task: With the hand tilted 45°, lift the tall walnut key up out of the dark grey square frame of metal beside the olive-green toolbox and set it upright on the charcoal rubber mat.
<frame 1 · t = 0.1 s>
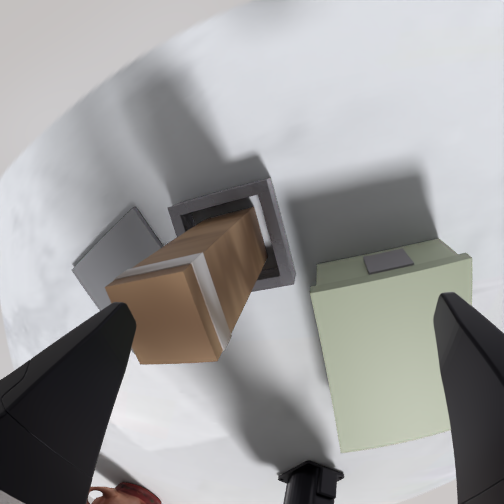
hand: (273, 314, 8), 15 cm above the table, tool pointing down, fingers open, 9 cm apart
terracotta mug: (135, 488, 46), on the table
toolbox: (389, 338, 24), on the table
mat: (133, 287, 28), on the table
key: (208, 267, 18), in the dark grey square frame
dark grey square frame: (236, 237, 24), on the table
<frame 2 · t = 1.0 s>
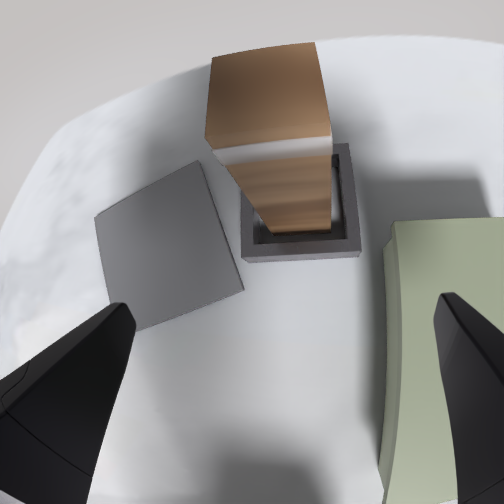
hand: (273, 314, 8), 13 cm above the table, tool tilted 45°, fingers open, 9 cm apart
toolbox: (452, 359, 17), on the table
mat: (158, 249, 24), on the table
key: (289, 165, 16), in the dark grey square frame
dark grey square frame: (300, 207, 22), on the table
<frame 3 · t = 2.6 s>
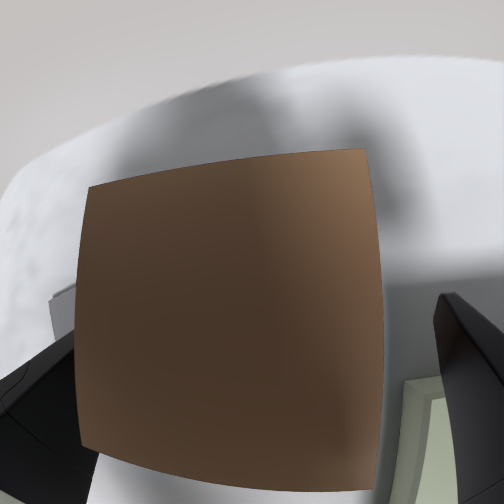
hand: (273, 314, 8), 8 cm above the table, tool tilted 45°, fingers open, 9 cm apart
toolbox: (463, 487, 11), on the table
mat: (119, 356, 18), on the table
key: (281, 324, 10), in the dark grey square frame
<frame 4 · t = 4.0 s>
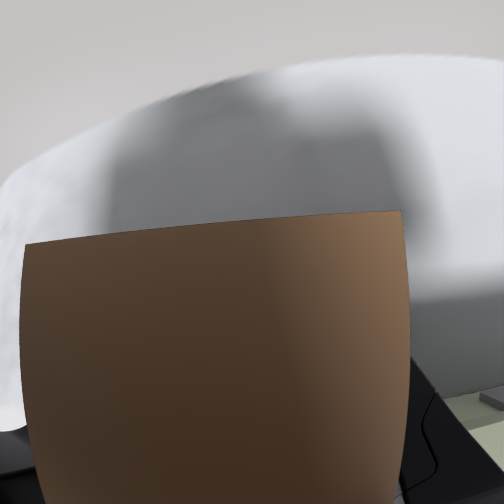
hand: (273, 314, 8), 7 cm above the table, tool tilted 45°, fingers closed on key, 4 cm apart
key: (276, 363, 8), in the dark grey square frame, touching gripper
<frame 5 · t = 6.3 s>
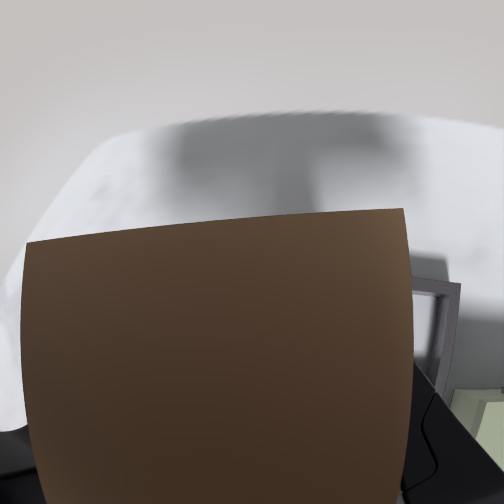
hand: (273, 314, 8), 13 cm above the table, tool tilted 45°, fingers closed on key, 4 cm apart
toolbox: (474, 479, 14), on the table
key: (277, 363, 8), point 12 cm above the table, touching gripper
dark grey square frame: (394, 336, 19), on the table
when the fingers open (9 cm above the table, at t = 8.4 s): key drops 1 cm, resting on mat.
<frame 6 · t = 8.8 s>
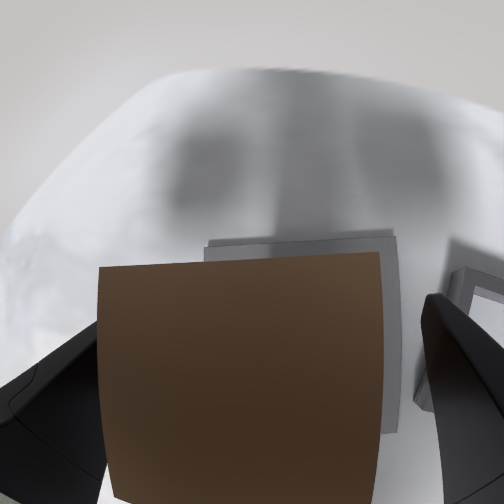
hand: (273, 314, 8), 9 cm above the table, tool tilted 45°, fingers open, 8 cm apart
mat: (301, 342, 16), on the table
key: (286, 357, 10), on the mat
dark grey square frame: (486, 351, 13), on the table
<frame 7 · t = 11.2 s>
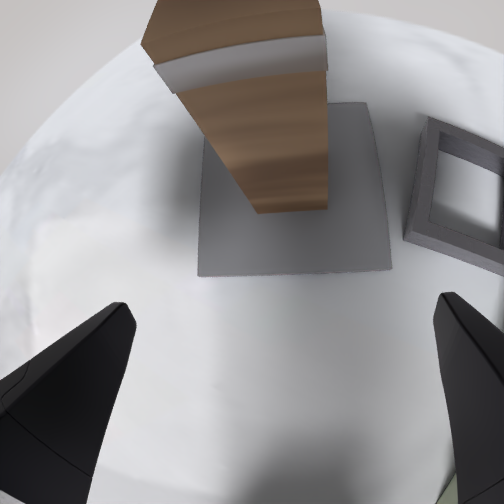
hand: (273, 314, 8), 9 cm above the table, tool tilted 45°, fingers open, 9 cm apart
mat: (290, 183, 18), on the table
key: (272, 115, 12), on the mat
dark grey square frame: (466, 201, 16), on the table
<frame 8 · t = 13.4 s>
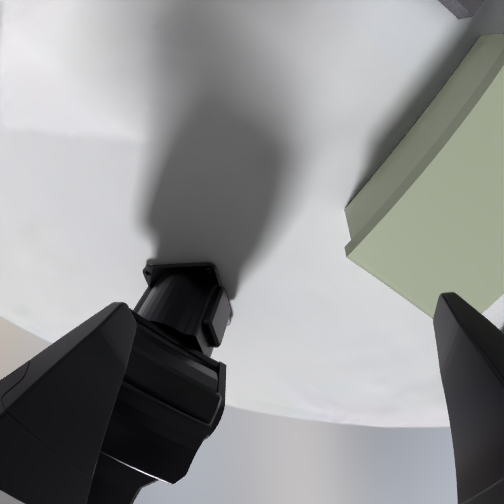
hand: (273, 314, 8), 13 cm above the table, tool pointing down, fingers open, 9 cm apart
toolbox: (467, 167, 16), on the table
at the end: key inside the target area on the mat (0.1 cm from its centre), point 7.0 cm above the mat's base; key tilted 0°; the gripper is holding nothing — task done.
